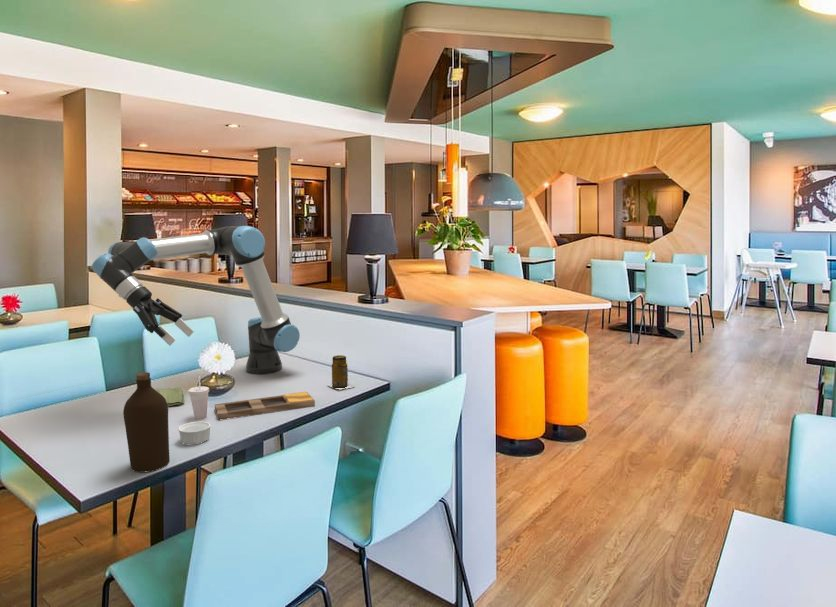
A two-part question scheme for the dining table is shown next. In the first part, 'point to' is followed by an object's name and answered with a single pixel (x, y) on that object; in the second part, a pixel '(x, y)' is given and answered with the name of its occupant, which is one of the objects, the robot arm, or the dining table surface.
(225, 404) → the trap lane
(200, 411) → the smoothie
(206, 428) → the ramekin
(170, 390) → the washcloth
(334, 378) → the condiment
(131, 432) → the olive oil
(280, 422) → the dining table surface
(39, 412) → the dining table surface
